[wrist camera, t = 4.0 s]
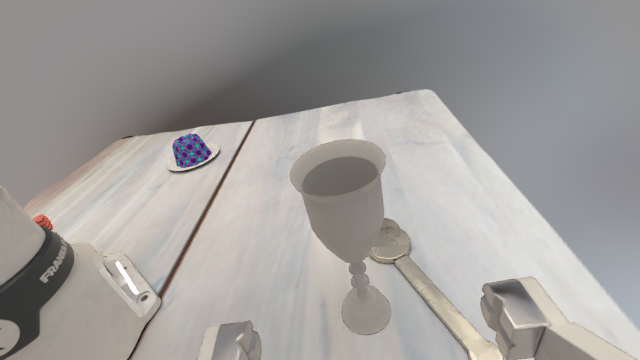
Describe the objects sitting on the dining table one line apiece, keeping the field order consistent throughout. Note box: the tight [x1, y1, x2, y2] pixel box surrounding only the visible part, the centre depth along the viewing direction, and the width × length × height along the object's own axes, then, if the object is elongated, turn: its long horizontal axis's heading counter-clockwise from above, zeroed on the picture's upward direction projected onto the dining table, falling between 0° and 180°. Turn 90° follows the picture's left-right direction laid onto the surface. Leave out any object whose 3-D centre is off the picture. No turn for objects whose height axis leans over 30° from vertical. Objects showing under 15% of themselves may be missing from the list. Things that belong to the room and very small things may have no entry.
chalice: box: [290, 139, 391, 335], centre depth 26 cm, size 7×7×18 cm
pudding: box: [167, 134, 219, 171], centre depth 69 cm, size 12×12×5 cm
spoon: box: [369, 218, 504, 360], centre depth 33 cm, size 21×5×1 cm, turn 23°
